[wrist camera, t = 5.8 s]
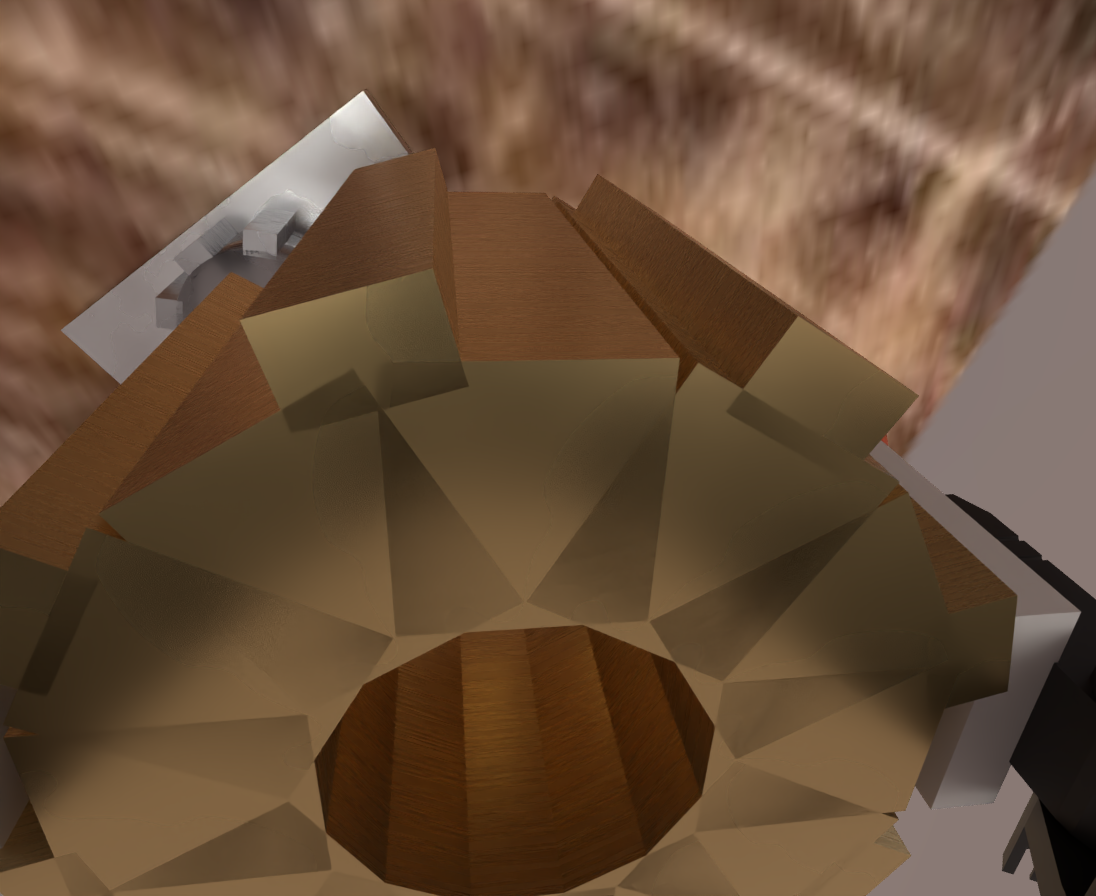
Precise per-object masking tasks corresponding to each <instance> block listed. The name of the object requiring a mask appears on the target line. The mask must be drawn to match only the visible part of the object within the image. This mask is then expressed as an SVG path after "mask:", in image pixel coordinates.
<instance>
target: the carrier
mask: <svg viewBox="0 0 1096 896" xmlns="http://www.w3.org/2000/svg"><path fill="white" fill-rule="evenodd" d="M410 154H413V153H412V151H411V150H410V149H409V147H408V146H407V144H406V143H405V142H404V140H403V139H402V137H401V136H400V135H399V133H398V132H397V131H396V129H395V128H394V126H393V125H392V124H391V122H390V121H389V119H388V118H387V117H386V115H385V114H384V113H383V111H382V110H381V108H380V107H379V106H378V104H377V103H376V101H375V100H374V99H373V97H372V96H371V94H370V93H369V92H368V90H367V89H365V90H363V91H362V92H361V93H359V94H358V95H357V96H356V97H354V98H353V99H352V100H351V101H349V102H348V103H347V104H345V105H344V106H343V107H342V108H340V109H339V110H338V111H337V112H335V113H334V114H333V115H332V116H330V117H329V118H328V119H327V120H325V121H324V122H323V123H322V124H320V125H319V126H318V127H316V128H315V129H314V130H313V131H311V132H310V133H309V134H308V135H306V136H305V137H304V138H303V139H301V140H300V141H299V142H298V143H296V144H295V145H294V146H293V147H291V148H290V149H289V150H287V151H286V152H285V153H284V154H282V155H281V156H280V157H279V158H277V159H276V160H275V161H274V162H272V163H271V164H270V165H269V166H267V167H266V168H265V169H264V170H262V171H261V172H260V173H258V174H257V175H256V176H255V177H253V178H252V179H251V180H250V181H248V182H247V183H246V184H245V185H243V186H242V187H241V188H240V189H238V190H237V191H236V192H234V193H233V194H232V195H231V196H229V197H228V198H227V199H226V200H224V201H223V202H222V203H221V204H219V205H218V206H217V207H216V208H214V209H213V210H212V211H211V212H209V213H208V214H207V215H205V216H204V217H203V218H202V219H200V220H199V221H198V222H197V223H195V224H194V225H193V226H192V227H190V228H189V229H188V230H187V231H185V232H184V233H183V234H182V235H180V236H179V237H178V238H176V239H175V240H174V241H173V242H171V243H170V244H169V245H168V246H166V247H165V248H164V249H163V250H161V251H160V252H159V253H158V254H156V255H155V256H154V257H153V258H151V259H150V260H149V261H147V262H146V263H145V264H144V265H142V266H141V267H140V268H139V269H137V270H136V271H135V272H134V273H132V274H131V275H130V276H129V277H127V278H126V279H125V280H124V281H122V282H121V283H120V284H118V285H117V286H116V287H115V288H113V289H112V290H111V291H110V292H108V293H107V294H106V295H105V296H103V297H102V298H101V299H100V300H98V301H97V302H96V303H94V304H93V305H92V306H91V307H89V308H88V309H87V310H86V311H84V312H83V313H82V314H81V315H79V316H78V317H77V318H76V319H74V320H73V321H72V322H71V323H69V324H68V325H67V326H65V327H64V328H63V329H62V330H61V331H62V332H63V333H64V334H65V335H67V336H68V337H69V338H70V339H71V340H72V341H73V342H74V343H75V344H77V345H78V346H79V347H80V348H81V349H82V350H83V351H84V352H85V353H87V354H88V355H89V356H90V357H91V358H92V359H93V360H94V361H95V362H97V363H98V364H99V365H100V366H101V367H102V368H103V369H104V370H105V371H107V372H108V373H109V374H110V375H111V376H112V377H113V378H114V379H115V380H117V381H118V382H119V383H120V384H122V383H123V382H124V381H125V380H126V379H127V378H128V377H129V376H130V375H131V374H132V373H133V371H134V370H135V369H136V368H137V367H138V366H139V365H140V364H141V363H142V362H143V361H144V360H145V359H146V358H147V357H148V356H149V355H150V354H151V353H152V352H153V351H154V350H155V349H156V348H157V347H158V346H159V345H160V344H161V343H162V342H163V341H164V340H165V339H166V338H167V337H168V336H169V335H170V334H171V333H172V332H173V330H174V329H175V328H176V327H177V326H178V325H179V324H180V323H181V322H182V321H183V320H184V319H185V318H186V317H187V316H188V315H189V314H190V313H191V312H192V311H193V310H194V309H195V308H196V307H197V306H198V305H199V304H200V303H201V302H202V301H203V300H204V299H205V298H206V297H207V296H208V295H209V294H210V293H211V292H212V290H213V289H214V288H215V287H216V286H217V285H218V284H219V283H220V282H221V281H222V280H223V279H224V278H225V277H226V276H227V275H228V274H229V273H230V272H233V273H235V274H237V275H239V276H241V277H243V278H245V279H247V280H249V281H251V282H253V283H254V284H256V285H258V286H260V287H262V288H264V287H265V286H266V285H267V283H268V282H269V281H270V279H271V278H272V277H273V275H274V274H275V273H276V271H277V270H278V269H279V267H280V266H281V265H282V264H283V262H284V261H285V260H286V258H287V257H288V256H289V254H290V253H291V252H292V250H293V249H294V248H295V246H296V245H297V244H298V243H299V241H300V240H301V239H302V237H303V236H304V235H305V233H306V232H307V231H308V229H309V228H310V227H311V225H312V224H313V223H314V221H315V220H316V219H317V218H318V216H319V215H320V214H321V212H322V211H323V210H324V208H325V207H326V206H327V204H328V203H329V202H330V200H331V199H332V198H333V196H334V195H335V194H336V193H337V191H338V190H339V189H340V187H341V186H342V185H343V183H344V182H345V181H346V179H347V178H348V177H349V175H350V174H351V173H352V171H353V170H354V169H357V168H361V167H365V166H369V165H372V164H376V163H380V162H384V161H387V160H391V159H395V158H399V157H403V156H406V155H410Z"/></svg>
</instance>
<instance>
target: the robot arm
mask: <svg viewBox="0 0 1096 896" xmlns="http://www.w3.org/2000/svg"><path fill="white" fill-rule="evenodd" d="M870 455H871V456H872V457H873V458H874V459H875V460H876V461H877V462H879V463H880V464H881V465H882V466H883V467H884V468H885V469H886V470H887V471H888V472H889V473H891V474H892V475H893V476H894V477H895V478H896V479H897V480H898V481H899V484H900V485H901V486H902V487H903V488H904V489H905V490H906V491H907V492H908V493H909V496H910V497H912V498H913V499H914V500H915V501H916V502H917V503H918V504H919V505H920V506H921V507H922V508H923V509H925V510H926V511H927V512H928V513H929V514H930V515H931V516H932V517H933V518H934V519H935V520H936V521H938V522H939V523H940V524H941V525H942V526H943V527H944V528H945V529H946V530H947V531H948V532H949V533H951V534H952V535H953V536H954V537H955V538H956V539H957V540H958V541H959V542H960V543H961V544H963V545H964V546H965V547H966V548H967V549H968V550H969V551H970V552H971V553H972V554H973V555H974V556H976V557H977V558H978V559H979V560H980V561H981V562H982V563H983V564H984V565H985V566H986V567H987V568H989V569H990V570H991V571H992V572H993V573H994V574H995V575H996V576H997V577H998V578H999V579H1000V580H1002V581H1003V582H1004V583H1005V584H1006V585H1007V586H1008V587H1009V588H1010V589H1011V590H1012V591H1013V592H1015V593H1016V594H1017V595H1018V598H1017V607H1016V617H1015V627H1014V636H1013V646H1012V655H1011V665H1010V675H1009V684H1008V691H1007V692H1004V693H1000V694H997V695H993V696H989V697H986V698H982V699H978V700H975V701H971V702H967V703H964V704H960V705H956V706H953V707H949V708H945V709H944V711H943V714H942V717H941V719H940V722H939V724H938V727H937V730H936V732H935V735H934V737H933V740H932V743H931V745H930V748H929V750H928V753H927V756H926V758H925V761H924V763H923V766H922V769H921V771H920V774H919V776H918V779H917V782H916V784H915V786H916V788H917V789H918V791H919V792H920V794H921V795H922V797H923V798H924V800H925V801H926V803H927V804H928V806H929V807H930V809H931V810H932V809H941V808H951V807H961V806H970V805H979V804H990V803H994V801H995V799H996V796H997V794H998V792H999V790H1000V787H1001V785H1002V783H1003V781H1004V779H1005V777H1006V775H1007V772H1008V770H1009V768H1010V766H1011V765H1012V766H1013V767H1014V768H1015V770H1016V771H1017V772H1018V773H1019V775H1020V776H1021V777H1022V778H1023V779H1024V781H1025V782H1026V783H1027V784H1028V785H1029V787H1030V788H1031V789H1032V790H1033V794H1032V796H1031V798H1030V800H1029V802H1028V804H1027V806H1026V808H1025V810H1024V812H1023V814H1022V816H1021V819H1020V821H1019V823H1018V825H1017V827H1016V829H1015V831H1014V833H1013V835H1012V837H1011V839H1010V841H1009V843H1008V845H1007V847H1006V849H1005V851H1004V853H1003V865H1002V866H1003V867H1002V871H1004V872H1008V873H1011V874H1014V872H1015V870H1016V868H1017V866H1018V864H1019V862H1020V860H1021V858H1022V856H1023V855H1024V853H1025V850H1026V849H1030V852H1031V857H1032V861H1033V865H1034V868H1033V870H1032V872H1031V874H1030V880H1033V881H1036V882H1038V886H1039V891H1040V895H1041V896H1096V599H1094V598H1093V597H1092V596H1091V595H1090V594H1088V593H1087V592H1086V591H1085V590H1083V589H1082V588H1081V587H1080V586H1079V585H1077V584H1076V583H1075V582H1074V581H1073V580H1071V579H1070V578H1069V577H1068V576H1066V575H1065V574H1064V573H1063V572H1062V571H1060V570H1059V569H1058V568H1057V567H1055V566H1054V565H1053V564H1052V563H1051V562H1049V561H1048V560H1042V555H1041V554H1040V553H1038V552H1037V551H1036V550H1035V549H1034V548H1032V547H1031V546H1030V545H1029V544H1027V543H1026V542H1025V541H1019V539H1018V535H1016V534H1015V533H1014V532H1013V531H1011V530H1010V529H1009V528H1008V527H1007V526H1005V525H1004V524H1003V523H1002V522H1000V521H999V520H998V519H997V518H996V517H994V516H993V515H992V514H991V513H989V512H987V511H985V510H983V509H981V508H979V507H977V506H975V505H973V504H971V503H969V502H967V501H965V500H964V499H962V498H960V497H958V496H956V495H954V494H949V495H944V494H943V493H942V492H941V491H940V490H939V489H937V488H936V487H935V486H934V485H933V484H931V483H930V482H929V481H928V480H927V479H926V478H925V477H923V476H922V475H921V474H920V473H919V472H918V471H916V470H915V469H914V468H913V467H912V466H911V465H909V464H908V463H907V462H906V461H905V460H904V459H902V458H901V457H900V456H899V455H898V454H897V453H895V452H894V451H893V450H892V449H891V448H890V447H888V446H887V445H886V444H885V443H884V442H883V441H880V442H879V443H878V444H877V445H876V447H875V448H874V449H873V450H872V451H871V452H870ZM17 690H18V689H15V688H12V687H8V686H5V685H1V684H0V849H1V848H3V847H4V845H5V843H6V841H7V839H8V838H9V836H10V834H11V832H12V830H13V828H14V827H15V825H16V823H17V821H18V819H19V818H20V816H21V814H22V812H23V810H24V809H25V807H26V805H27V803H28V801H29V797H28V795H27V792H26V790H25V788H24V786H23V783H22V781H21V779H20V776H19V774H18V772H17V769H16V767H15V765H14V762H13V760H12V758H11V755H10V753H9V751H8V748H7V746H6V744H5V741H4V739H3V737H4V735H5V734H6V732H7V731H8V729H9V726H5V725H3V723H4V721H5V718H6V716H7V713H8V711H9V709H10V706H11V704H12V702H13V699H14V697H15V695H16V692H17ZM0 896H3V895H2V894H1V893H0Z"/></svg>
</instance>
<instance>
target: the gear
mask: <svg viewBox="0 0 1096 896" xmlns="http://www.w3.org/2000/svg"><path fill="white" fill-rule="evenodd" d="M918 396H919V395H917V394H916V393H914V392H913V391H911V390H910V389H909V388H907V387H906V386H904V385H903V384H901V383H900V382H899V381H897V380H896V379H894V378H893V377H891V376H890V375H889V374H887V373H886V372H884V371H883V370H881V369H880V368H878V367H877V366H876V365H874V364H873V363H871V362H870V361H868V360H867V359H866V358H864V357H863V356H861V355H860V354H858V353H857V352H856V351H854V350H853V349H851V348H850V347H848V346H847V345H845V344H844V343H843V342H841V341H840V340H838V339H837V338H835V337H834V336H833V335H831V334H830V333H828V332H827V331H825V330H824V329H822V328H821V327H820V326H818V325H817V324H815V323H814V322H812V321H811V320H810V319H808V318H807V317H805V316H804V315H802V314H801V313H800V312H798V311H797V310H795V309H794V308H792V307H791V306H789V305H788V304H787V303H785V302H784V301H782V300H781V299H779V298H778V297H777V296H775V295H774V294H772V293H771V292H769V291H768V290H766V289H765V288H764V287H762V286H761V285H759V284H758V283H756V282H755V281H754V280H752V279H751V278H749V277H748V276H746V275H745V274H744V273H742V272H741V271H739V270H738V269H736V268H735V267H733V266H732V265H731V264H729V263H728V262H726V261H725V260H723V259H722V258H721V257H719V256H718V255H716V254H715V253H713V252H712V251H710V250H709V249H708V248H706V247H705V246H703V245H702V244H700V243H699V242H698V241H696V240H695V239H693V238H692V237H690V236H689V235H688V234H686V233H685V232H683V231H682V230H680V229H679V228H677V227H676V226H675V225H673V224H672V223H670V222H669V221H667V220H666V219H665V218H663V217H662V216H660V215H659V214H657V213H656V212H654V211H653V210H651V209H650V208H648V207H647V206H645V205H644V204H642V203H641V202H639V201H638V200H636V199H635V198H633V197H632V196H630V195H629V194H627V193H626V192H624V191H623V190H621V189H620V188H618V187H617V186H615V185H614V184H612V183H611V182H609V181H608V180H606V179H605V178H603V177H602V176H600V175H598V174H597V176H596V178H595V179H594V181H593V183H592V184H591V186H590V188H589V189H588V191H587V193H586V194H585V196H584V198H583V199H582V201H581V203H580V204H579V206H578V208H577V209H574V208H573V207H571V206H570V205H568V204H566V203H565V202H563V201H562V200H560V199H559V198H557V197H555V196H554V197H553V199H552V200H551V199H550V198H549V197H548V196H547V194H546V193H503V192H448V191H447V187H446V184H445V180H444V177H443V173H442V170H441V166H440V163H439V159H438V156H437V152H436V149H435V148H433V149H429V150H425V151H421V152H418V153H414V154H410V155H406V156H403V157H399V158H395V159H391V160H387V161H384V162H380V163H376V164H372V165H369V166H365V167H361V168H357V169H354V170H353V171H352V173H351V174H350V175H349V177H348V178H347V179H346V181H345V182H344V183H343V185H342V186H341V187H340V189H339V190H338V191H337V193H336V194H335V195H334V196H333V198H332V199H331V200H330V202H329V203H328V204H327V206H326V207H325V208H324V210H323V211H322V212H321V214H320V215H319V216H318V218H317V219H316V220H315V221H314V223H313V224H312V225H311V227H310V228H309V229H308V231H307V232H306V233H305V235H304V236H303V237H302V239H301V240H300V241H299V243H298V244H297V245H296V246H295V248H294V249H293V250H292V252H291V253H290V254H289V256H288V257H287V258H286V260H285V261H284V262H283V264H282V265H281V266H280V267H279V269H278V270H277V271H276V273H275V274H274V275H273V277H272V278H271V279H270V281H269V282H268V283H267V285H266V286H265V287H264V288H262V287H260V286H258V285H256V284H254V283H253V282H251V281H249V280H247V279H245V278H243V277H241V276H239V275H237V274H235V273H233V272H230V273H229V274H228V275H227V276H226V277H225V278H224V279H223V280H222V281H221V282H220V283H219V284H218V285H217V286H216V287H215V288H214V289H213V290H212V292H211V293H210V294H209V295H208V296H207V297H206V298H205V299H204V300H203V301H202V302H201V303H200V304H199V305H198V306H197V307H196V308H195V309H194V310H193V311H192V312H191V313H190V314H189V315H188V316H187V317H186V318H185V319H184V320H183V321H182V322H181V323H180V324H179V325H178V326H177V327H176V328H175V329H174V330H173V332H172V333H171V334H170V335H169V336H168V337H167V338H166V339H165V340H164V341H163V342H162V343H161V344H160V345H159V346H158V347H157V348H156V349H155V350H154V351H153V352H152V353H151V354H150V355H149V356H148V357H147V358H146V359H145V360H144V361H143V362H142V363H141V364H140V365H139V366H138V367H137V368H136V369H135V370H134V371H133V373H132V374H131V375H130V376H129V377H128V378H127V379H126V380H125V381H124V382H123V383H122V384H121V385H120V386H119V387H118V388H117V389H116V390H115V391H114V392H113V393H112V394H111V395H110V396H109V397H108V398H107V399H106V400H105V401H104V402H103V403H102V404H101V405H100V406H99V407H98V408H97V409H96V410H95V411H94V412H93V414H92V415H91V416H90V417H89V418H88V419H87V420H86V421H85V422H84V423H83V424H82V425H81V426H80V427H79V428H78V429H77V430H76V431H75V432H74V433H73V434H72V435H71V436H70V437H69V438H68V439H67V440H66V441H65V442H64V443H63V444H62V445H61V446H60V447H59V448H58V449H57V450H56V451H55V452H54V454H53V455H52V456H51V457H50V458H49V459H48V460H47V461H46V462H45V463H44V464H43V465H42V466H41V467H40V468H39V469H38V470H37V471H36V472H35V473H34V474H33V475H32V476H31V477H30V478H29V479H28V480H27V481H26V482H25V483H24V484H23V485H22V486H21V487H20V488H19V489H18V490H17V491H16V492H15V493H14V495H13V496H12V497H11V498H10V499H9V500H8V501H7V502H6V503H5V504H4V505H3V506H2V507H1V508H0V684H1V685H5V686H8V687H12V688H15V689H18V690H17V692H16V695H15V697H14V699H13V702H12V704H11V706H10V709H9V711H8V713H7V716H6V718H5V721H4V723H3V725H5V726H9V729H8V731H7V732H6V734H5V735H4V737H3V739H4V741H5V744H6V746H7V748H8V751H9V753H10V755H11V758H12V760H13V762H14V765H15V767H16V769H17V772H18V774H19V776H20V779H21V781H22V783H23V786H24V788H25V790H26V792H27V795H28V797H29V801H28V803H27V805H26V807H25V809H24V810H23V812H22V814H21V816H20V818H19V819H18V821H17V823H16V825H15V827H14V828H13V830H12V832H11V834H10V836H9V838H8V839H7V841H6V843H5V845H4V847H3V848H1V849H0V893H1V894H2V895H3V896H866V895H867V894H868V893H869V892H871V890H873V889H874V888H875V887H876V886H877V885H879V884H880V883H881V882H882V881H883V880H884V879H885V878H886V877H888V876H889V875H890V874H891V873H892V872H893V871H894V870H896V869H897V868H898V867H899V866H900V865H901V864H902V863H904V862H905V861H906V860H907V859H908V858H909V857H910V856H911V855H910V853H909V851H908V850H907V848H906V846H905V845H904V843H903V841H902V840H901V838H900V836H899V835H898V833H897V831H896V830H895V828H894V826H893V824H894V823H896V822H897V821H898V820H899V819H898V817H897V816H896V814H895V812H898V811H905V810H906V808H907V805H908V802H909V800H910V797H911V795H912V792H913V789H914V787H915V784H916V782H917V779H918V776H919V774H920V771H921V769H922V766H923V763H924V761H925V758H926V756H927V753H928V750H929V748H930V745H931V743H932V740H933V737H934V735H935V732H936V730H937V727H938V724H939V722H940V719H941V717H942V714H943V711H944V709H945V708H949V707H953V706H956V705H960V704H964V703H967V702H971V701H975V700H978V699H982V698H986V697H989V696H993V695H997V694H1000V693H1004V692H1007V691H1008V684H1009V675H1010V665H1011V655H1012V646H1013V636H1014V627H1015V617H1016V607H1017V598H1018V595H1017V594H1016V593H1015V592H1013V591H1012V590H1011V589H1010V588H1009V587H1008V586H1007V585H1006V584H1005V583H1004V582H1003V581H1002V580H1000V579H999V578H998V577H997V576H996V575H995V574H994V573H993V572H992V571H991V570H990V569H989V568H987V567H986V566H985V565H984V564H983V563H982V562H981V561H980V560H979V559H978V558H977V557H976V556H974V555H973V554H972V553H971V552H970V551H969V550H968V549H967V548H966V547H965V546H964V545H963V544H961V543H960V542H959V541H958V540H957V539H956V538H955V537H954V536H953V535H952V534H951V533H949V532H948V531H947V530H946V529H945V528H944V527H943V526H942V525H941V524H940V523H939V522H938V521H936V520H935V519H934V518H933V517H932V516H931V515H930V514H929V513H928V512H927V511H926V510H925V509H923V508H922V507H921V506H920V505H919V504H918V503H917V502H916V501H915V500H914V499H913V498H912V497H910V496H909V493H908V492H907V491H906V490H905V489H904V488H903V487H902V486H901V485H900V484H899V481H898V480H897V479H896V478H895V477H894V476H893V475H892V474H891V473H889V472H888V471H887V470H886V469H885V468H884V467H883V466H882V465H881V464H880V463H879V462H877V461H876V460H875V459H874V458H873V457H872V456H871V455H870V452H871V451H872V450H873V449H874V448H875V447H876V445H877V444H878V443H879V442H880V441H881V440H882V438H883V437H884V436H885V435H886V434H887V433H888V431H889V430H890V429H891V428H892V427H893V426H894V424H895V423H896V422H897V421H898V420H899V419H900V417H901V416H902V415H903V414H904V413H905V412H906V410H907V409H908V408H909V407H910V406H911V405H912V403H913V402H914V401H915V400H916V399H917V398H918Z"/></svg>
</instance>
